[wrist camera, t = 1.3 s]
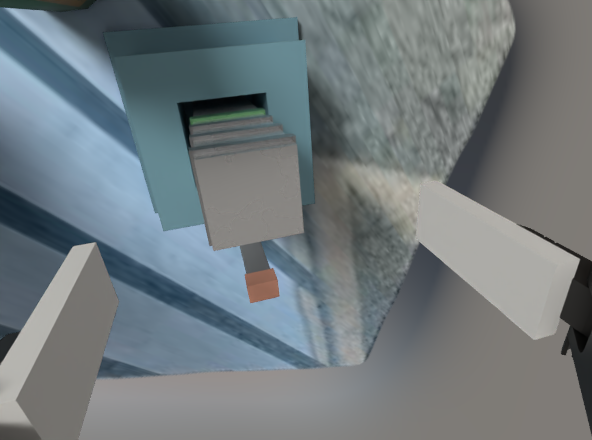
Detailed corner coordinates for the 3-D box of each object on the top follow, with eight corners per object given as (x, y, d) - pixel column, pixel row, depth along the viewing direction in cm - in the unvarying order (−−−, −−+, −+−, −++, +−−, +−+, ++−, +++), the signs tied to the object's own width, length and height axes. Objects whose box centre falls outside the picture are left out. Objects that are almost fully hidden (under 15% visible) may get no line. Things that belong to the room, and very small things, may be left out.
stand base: (155, 210, 40) (127, 341, 22) (104, 32, 32) (-5, 13, 14) (306, 184, 44) (386, 279, 26) (295, 17, 36) (400, -13, 18)
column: (201, 150, 38) (210, 254, 19) (190, 97, 36) (188, 156, 16) (250, 143, 39) (307, 235, 20) (243, 91, 37) (300, 140, 17)
